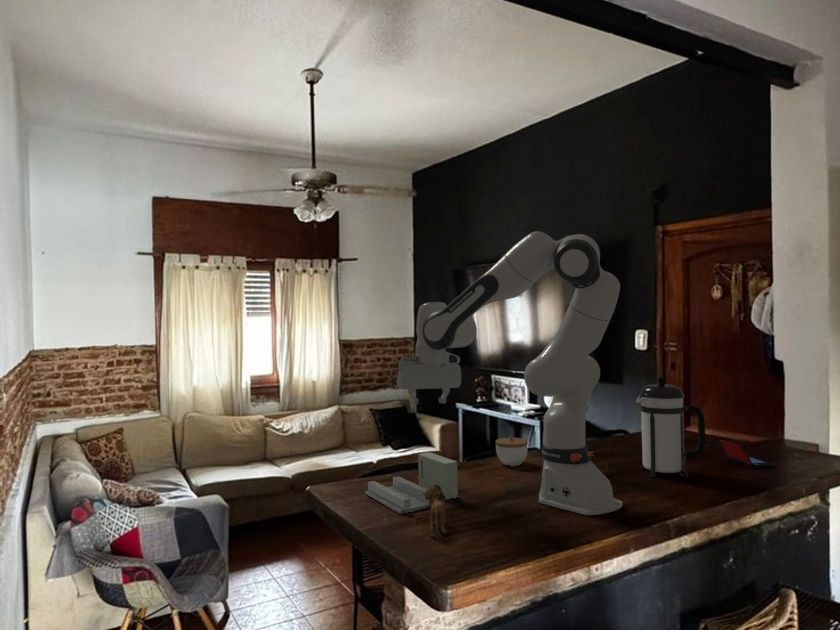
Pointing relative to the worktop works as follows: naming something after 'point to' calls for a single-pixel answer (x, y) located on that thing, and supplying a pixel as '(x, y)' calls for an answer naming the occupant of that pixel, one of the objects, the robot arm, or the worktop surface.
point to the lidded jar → (511, 450)
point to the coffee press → (666, 429)
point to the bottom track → (413, 502)
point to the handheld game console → (742, 456)
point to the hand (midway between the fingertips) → (428, 403)
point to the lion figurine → (436, 508)
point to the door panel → (438, 473)
